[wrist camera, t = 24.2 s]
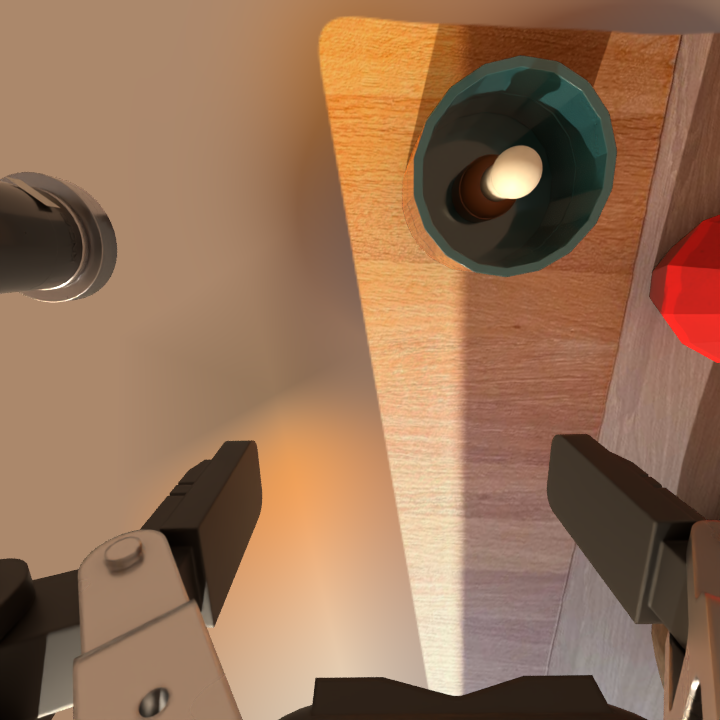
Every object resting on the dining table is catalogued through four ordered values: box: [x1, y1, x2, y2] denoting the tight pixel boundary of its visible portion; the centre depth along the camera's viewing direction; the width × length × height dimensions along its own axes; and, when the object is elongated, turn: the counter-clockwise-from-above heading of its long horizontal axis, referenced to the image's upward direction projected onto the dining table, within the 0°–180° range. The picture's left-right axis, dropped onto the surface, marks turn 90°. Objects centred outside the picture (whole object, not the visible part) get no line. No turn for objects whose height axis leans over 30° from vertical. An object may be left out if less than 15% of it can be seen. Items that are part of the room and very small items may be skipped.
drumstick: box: [452, 146, 542, 222], centre depth 31 cm, size 5×5×11 cm
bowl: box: [402, 55, 617, 277], centre depth 32 cm, size 14×15×9 cm
